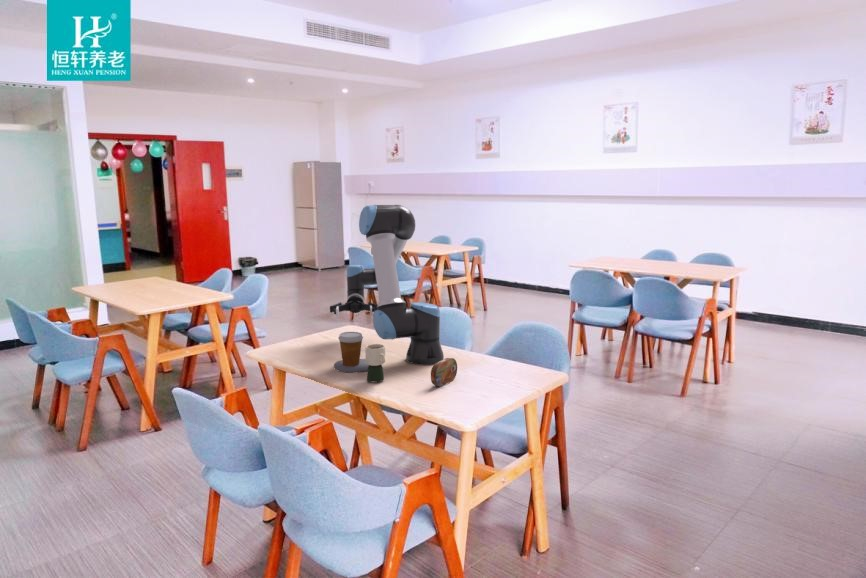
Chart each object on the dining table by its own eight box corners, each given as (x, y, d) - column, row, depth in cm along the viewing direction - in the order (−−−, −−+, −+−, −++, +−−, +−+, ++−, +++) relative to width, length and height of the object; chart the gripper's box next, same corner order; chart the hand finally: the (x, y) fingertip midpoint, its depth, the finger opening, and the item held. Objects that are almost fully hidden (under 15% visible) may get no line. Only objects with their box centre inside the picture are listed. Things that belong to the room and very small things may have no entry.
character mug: (392, 383, 212) (392, 347, 210) (375, 387, 207) (375, 351, 205) (375, 375, 220) (375, 341, 218) (358, 379, 216) (358, 344, 214)
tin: (436, 389, 206) (436, 366, 204) (428, 387, 207) (429, 364, 206) (457, 378, 218) (458, 356, 217) (450, 376, 220) (450, 354, 218)
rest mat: (382, 363, 235) (382, 361, 235) (361, 374, 221) (361, 372, 220) (348, 358, 241) (348, 356, 241) (325, 369, 227) (325, 367, 227)
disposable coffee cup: (336, 367, 226) (336, 337, 224) (341, 360, 236) (340, 331, 234) (361, 368, 226) (361, 337, 224) (365, 360, 235) (364, 331, 233)
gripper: (384, 311, 261) (385, 320, 240) (326, 312, 258) (322, 322, 237) (383, 294, 259) (385, 302, 239) (326, 295, 257) (322, 303, 236)
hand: (354, 312), depth 238 cm, fingers open, 13 cm apart
